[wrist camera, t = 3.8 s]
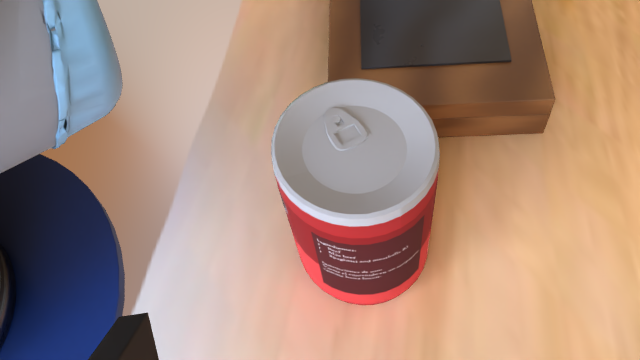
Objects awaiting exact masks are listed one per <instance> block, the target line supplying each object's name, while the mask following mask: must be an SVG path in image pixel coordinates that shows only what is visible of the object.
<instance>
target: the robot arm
mask: <svg viewBox="0 0 640 360" xmlns="http://www.w3.org/2000/svg"><path fill="white" fill-rule="evenodd" d="M121 90H122V75H121V69H120V65H119V61H118V58H117V54H116V51H115V48H114V45H113V42H112V39H111V36H110V33H109V31H108V28H107V25H106V22H105V20H104V17H103V14H102V12H101V9H100V7H99V4H98V2H97V0H0V173H2V172H4V171H6V170H8V169H10V168H12V167H14V166H16V165H18V164H20V163H22V162H24V161H26V160H28V159H30V158H32V157H34V156H36V155H38V154H40V153H42V152H44V151H45V150H48V149H49V148H54V149H56V148H58V147H60V145H61V144H64V143H65V141H66V139H67V137H69V136H71V135H73V134H74V133H76V132H78V131H80V130H81V129H83V128H85V127H87V126H88V125H90V124H92V123H93V122H95V121H97V120H99V119H101V118H102V117H104V116H106V115H107V114H108V113H109V112H110V111H111V110H112V109H113V108H114V106H115V105H116V103H117V101H118V99H119V97H120V95H121ZM15 302H16V280H15V274H14V270H13V266H12V263H11V261H10V258H9V256H8V254H7V253H6V251H5V249H4V248H3V247H2V245H1V244H0V350H1V348H2V345H3V343H4V341H5V339H6V336H7V334H8V331H9V328H10V325H11V322H12V318H13V314H14V308H15ZM88 360H159V359H158V354H157V350H156V346H155V341H154V337H153V333H152V329H151V324H150V320H149V316H148V313H143V314H136V315H130V316H122V317H119V318H118V319H117V321H116V322H115V323H114V325H113V326H112V327H111V329H110V330H109V332H108V333H107V334H106V336H105V337H104V338H103V340H102V341H101V343H100V344H99V345H98V347H97V348H96V349H95V351H94V352H93V354H92V355H91V356H90V358H89V359H88Z"/></svg>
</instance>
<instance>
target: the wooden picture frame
mask: <svg viewBox="0 0 640 360" xmlns="http://www.w3.org/2000/svg"><path fill="white" fill-rule="evenodd" d="M355 78H359V79H369V80H375V81H379V82H383V83H386V84H389V85H391V86H394V87H396V88H398V89H400V90H402V91H404V92H405V93H407V94H408V95H410V96H411V97H413V98H414V99H415V100H416V101H417V102H418V103H419V104H420V105H421V106H422V107H423V108H424V109H425V111H426V112H427V114H428V115H429V116H430V118H431V119H432V121H433V124H434V126H435V129H436V131H437V135H438V137H455V136H481V135H507V134H533V133H543V132H544V129H545V126H546V124H547V121H548V118H549V116H550V112H551V109H552V107H553V104H554V101H555V96H554V92H553V88H552V84H551V80H550V75H549V71H548V67H547V63H546V59H545V55H544V50H543V46H542V42H541V38H540V34H539V30H538V25H537V21H536V17H535V13H534V9H533V5H532V0H330V11H329V59H328V82H331V81H336V80H340V79H355Z"/></svg>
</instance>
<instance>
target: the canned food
mask: <svg viewBox="0 0 640 360" xmlns="http://www.w3.org/2000/svg"><path fill="white" fill-rule="evenodd" d="M271 155H272V163H273V168H274V173H275V177H276V180H277V184H278V188H279V191H280V195H281V198H282V201H283V204H284V207H285V210H286V214H287V217H288V220H289V223H290V226H291V229H292V233H293V236H294V239H295V242H296V245H297V248H298V252H299V255H300V258H301V261H302V263H303V265H304V267H305V270H306V272H307V273H308V274H309V276H310V277H311V279H312V280H313V281H314V282H315V283H316V284H317V285H318V286H319V287H320V288H321V289H322V290H324V291H325V292H327V293H328V294H330V295H332V296H333V297H335V298H337V299H340V300H342V301H345V302H347V303H352V304H358V305H374V304H379V303H383V302H386V301H389V300H391V299H393V298H395V297H397V296H399V295H400V294H401V293H403V292H404V291H406V290H407V289H408V288H409V287H410V286H411V285H412V284H413V283H414V282H415V281H416V280H417V279H418V277H419V275H420V273H421V272H422V270H423V268H424V265H425V262H426V258H427V253H428V246H429V239H430V232H431V225H432V217H433V210H434V203H435V196H436V189H437V181H438V170H439V159H440V152H439V142H438V135H437V131H436V129H435V126H434V124H433V121H432V119H431V118H430V116H429V115H428V114H427V112H426V111H425V109H424V108H423V107H422V106H421V105H420V104H419V103H418V102H417V101H416V100H415V99H414V98H413V97H411V96H410V95H408V94H407V93H405V92H404V91H402V90H400V89H398V88H396V87H394V86H391V85H389V84H386V83H383V82H379V81H375V80H369V79H359V78H355V79H340V80H336V81H331V82H327V83H324V84H321V85H319V86H316V87H314V88H312V89H310V90H308V91H307V92H305V93H303V94H302V95H300V96H299V97H298V98H297V99H295V100H294V101H293V102H292V103H291V104H290V105H289V106H288V107H287V108H286V110H285V111H284V112H283V113H282V115H281V116H280V118H279V120H278V122H277V124H276V126H275V129H274V133H273V137H272V145H271Z"/></svg>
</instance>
